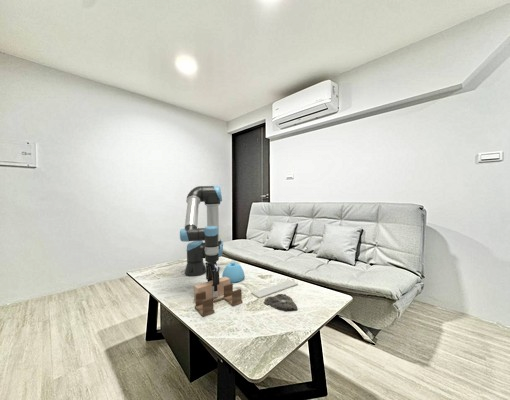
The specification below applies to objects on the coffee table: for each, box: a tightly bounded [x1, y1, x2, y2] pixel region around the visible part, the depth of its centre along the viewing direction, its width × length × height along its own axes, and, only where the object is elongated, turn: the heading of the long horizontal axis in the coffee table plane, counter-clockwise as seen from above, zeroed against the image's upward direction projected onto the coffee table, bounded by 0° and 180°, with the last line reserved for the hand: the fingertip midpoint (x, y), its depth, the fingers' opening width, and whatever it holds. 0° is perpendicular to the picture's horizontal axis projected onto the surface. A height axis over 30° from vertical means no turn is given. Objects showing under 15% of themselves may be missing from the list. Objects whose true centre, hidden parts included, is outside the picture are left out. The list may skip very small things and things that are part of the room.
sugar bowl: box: [221, 261, 245, 284], centre depth 148 cm, size 15×15×12 cm
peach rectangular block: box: [193, 277, 231, 302], centre depth 123 cm, size 5×20×8 cm, turn 129°
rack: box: [194, 283, 244, 318], centre depth 112 cm, size 10×22×7 cm, turn 126°
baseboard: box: [250, 278, 299, 300], centre depth 131 cm, size 30×3×10 cm
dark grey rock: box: [263, 293, 299, 312], centre depth 113 cm, size 19×4×15 cm
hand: (212, 294), depth 123 cm, fingers closed on peach rectangular block, 5 cm apart
